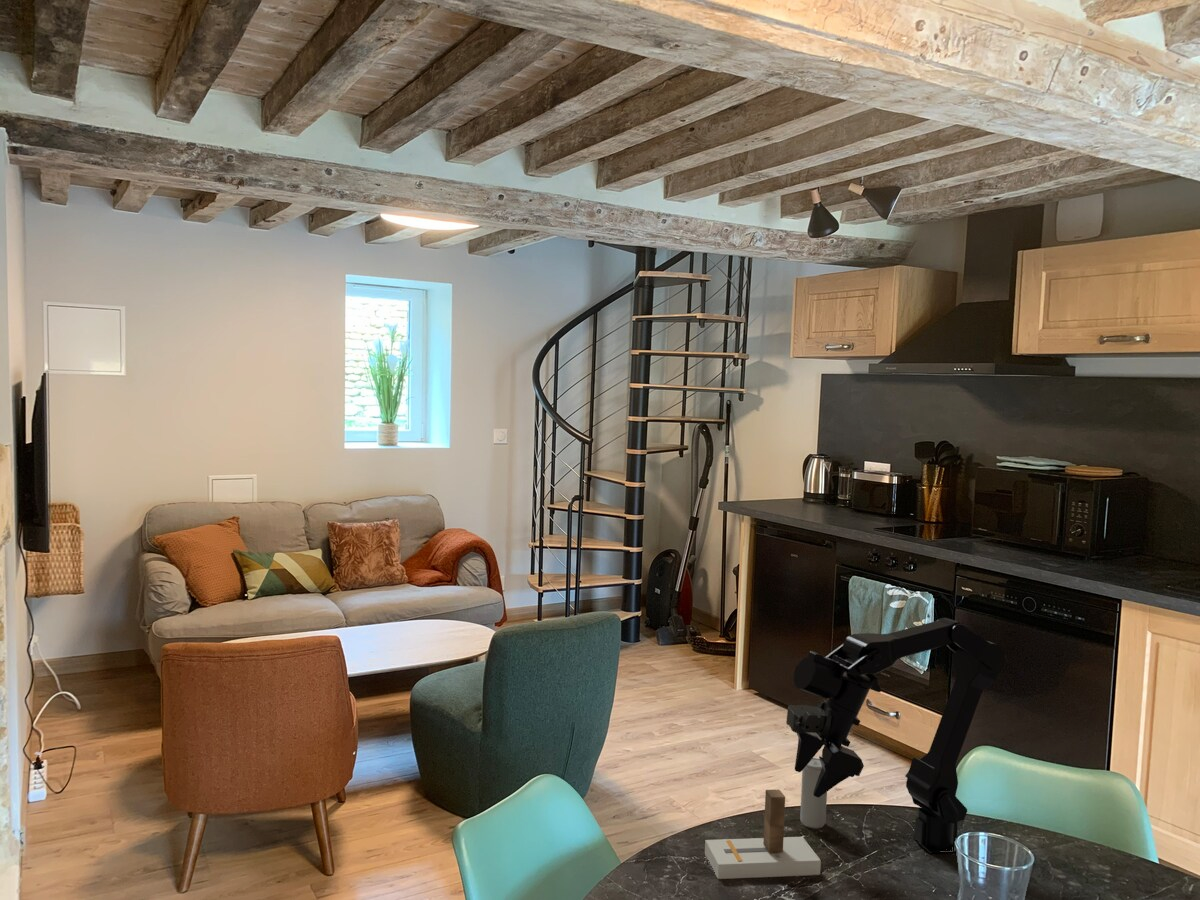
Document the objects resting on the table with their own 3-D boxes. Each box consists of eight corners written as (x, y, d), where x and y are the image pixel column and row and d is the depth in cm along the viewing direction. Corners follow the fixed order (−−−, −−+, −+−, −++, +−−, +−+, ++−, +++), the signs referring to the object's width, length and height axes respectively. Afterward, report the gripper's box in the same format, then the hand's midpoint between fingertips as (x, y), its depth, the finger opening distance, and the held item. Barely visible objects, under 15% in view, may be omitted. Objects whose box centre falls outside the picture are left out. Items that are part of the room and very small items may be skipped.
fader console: (801, 850, 162) (802, 835, 162) (820, 874, 153) (820, 859, 153) (704, 853, 159) (705, 839, 159) (717, 879, 151) (718, 863, 150)
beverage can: (823, 819, 175) (826, 758, 174) (827, 830, 170) (830, 768, 169) (798, 817, 175) (801, 756, 175) (801, 828, 170) (804, 766, 170)
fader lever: (777, 843, 158) (779, 789, 158) (782, 851, 155) (785, 796, 155) (763, 844, 158) (765, 789, 157) (768, 852, 155) (771, 797, 154)
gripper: (785, 669, 166) (750, 744, 167) (824, 710, 148) (784, 794, 148) (837, 690, 168) (802, 764, 169) (881, 733, 149) (842, 816, 150)
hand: (806, 783), depth 159 cm, fingers open, 9 cm apart
